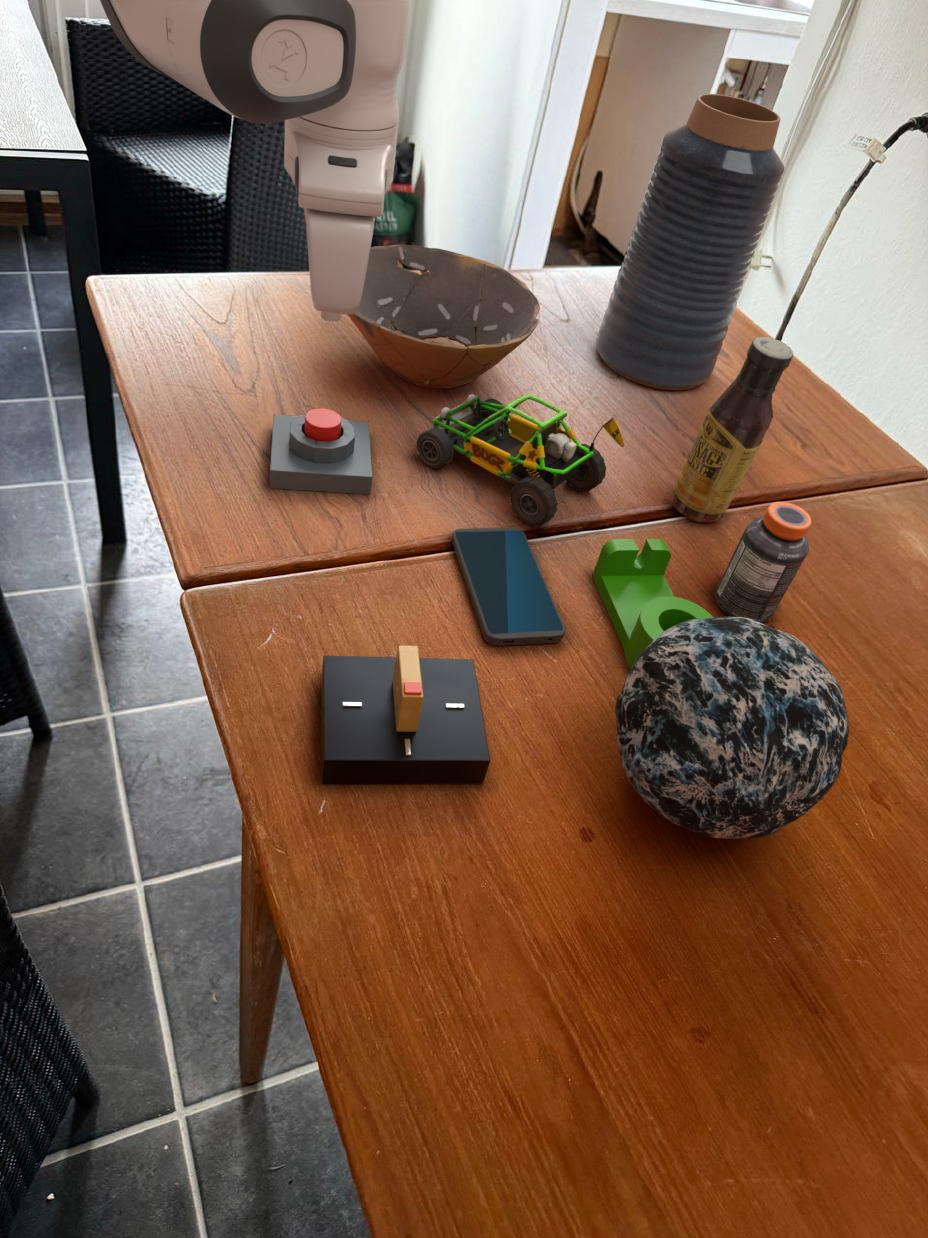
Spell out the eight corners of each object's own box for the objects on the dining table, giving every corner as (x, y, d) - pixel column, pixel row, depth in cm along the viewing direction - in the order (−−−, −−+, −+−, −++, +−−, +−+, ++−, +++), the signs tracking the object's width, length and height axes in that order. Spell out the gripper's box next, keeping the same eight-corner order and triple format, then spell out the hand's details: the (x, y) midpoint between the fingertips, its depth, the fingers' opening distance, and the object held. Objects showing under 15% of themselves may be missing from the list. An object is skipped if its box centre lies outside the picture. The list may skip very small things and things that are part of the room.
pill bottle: (752, 581, 89) (799, 491, 81) (783, 622, 85) (837, 532, 78) (702, 586, 87) (746, 495, 79) (732, 629, 83) (782, 537, 76)
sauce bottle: (659, 493, 98) (725, 326, 84) (706, 489, 100) (778, 326, 86) (686, 530, 94) (760, 361, 80) (735, 526, 96) (816, 361, 82)
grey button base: (269, 488, 87) (270, 454, 84) (273, 431, 94) (273, 399, 91) (370, 494, 89) (374, 462, 86) (366, 438, 96) (370, 407, 93)
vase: (586, 372, 115) (663, 105, 93) (601, 322, 127) (673, 74, 105) (707, 405, 114) (814, 144, 92) (711, 351, 126) (806, 108, 104)
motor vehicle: (477, 421, 102) (494, 337, 95) (615, 501, 95) (644, 417, 88) (412, 457, 95) (425, 368, 88) (556, 546, 88) (583, 458, 81)
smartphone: (485, 646, 76) (487, 639, 75) (448, 534, 86) (449, 527, 85) (566, 642, 78) (569, 635, 77) (521, 533, 88) (523, 526, 88)
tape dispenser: (714, 690, 77) (734, 654, 74) (640, 693, 75) (657, 656, 72) (655, 574, 87) (671, 539, 84) (589, 575, 86) (602, 539, 82)
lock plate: (321, 785, 64) (324, 759, 61) (321, 680, 71) (323, 653, 68) (483, 784, 66) (490, 759, 64) (467, 683, 73) (473, 657, 71)
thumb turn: (392, 680, 68) (398, 642, 65) (411, 680, 68) (418, 643, 65) (396, 732, 64) (403, 694, 61) (416, 732, 65) (424, 695, 62)
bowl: (314, 313, 114) (318, 236, 107) (494, 322, 121) (509, 250, 114) (340, 421, 97) (346, 337, 91) (547, 424, 104) (568, 347, 97)
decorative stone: (611, 871, 62) (682, 742, 52) (582, 697, 74) (635, 563, 64) (819, 882, 65) (928, 761, 54) (760, 712, 76) (839, 585, 66)
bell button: (304, 441, 87) (304, 426, 86) (304, 421, 90) (305, 406, 89) (340, 443, 88) (341, 429, 87) (340, 424, 90) (341, 409, 89)
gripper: (302, 106, 77) (297, 261, 87) (298, 193, 63) (293, 366, 73) (373, 116, 78) (361, 268, 88) (386, 203, 64) (369, 373, 74)
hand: (330, 313), depth 80 cm, fingers closed
